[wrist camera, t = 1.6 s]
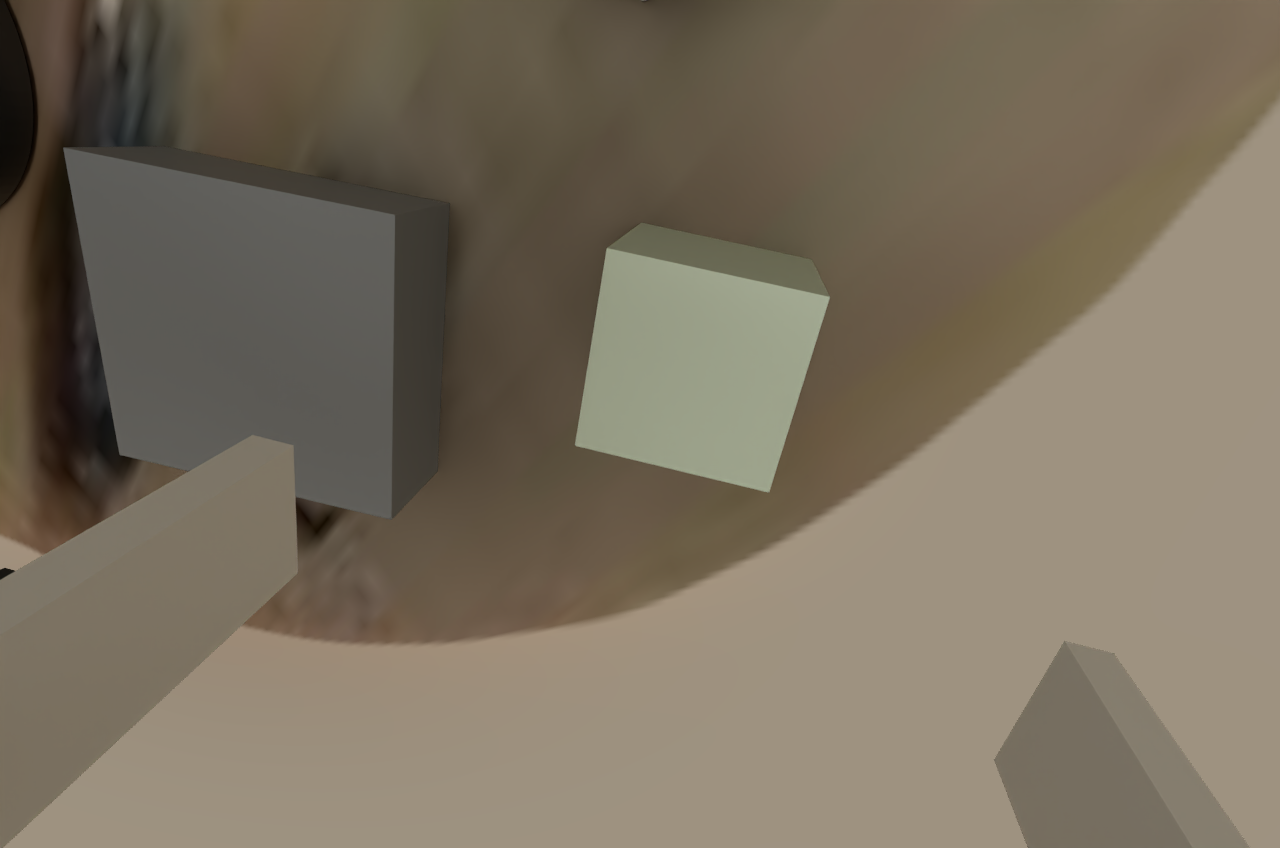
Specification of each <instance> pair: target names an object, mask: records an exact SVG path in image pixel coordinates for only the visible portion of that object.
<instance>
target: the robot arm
mask: <svg viewBox="0 0 1280 848" xmlns="http://www.w3.org/2000/svg"><path fill="white" fill-rule="evenodd" d="M32 135H33V101H32V91H31V84H30V78H29V73H28V68H27V64H26V60H25V56H24V52H23V49H22V45H21V42H20V39H19V36H18V33H17V30H16V28H15V25H14V22H13V20H12V17H11V15H10V13H9V10H8V8H7V6H6V3H5V1H4V0H0V206H1V205H2V204H3V203H4V202H5V201H6V200H7V199H8V198H9V196H10V195H11V194H12V193H13V191H14V190H15V188H16V187H17V185H18V183H19V181H20V179H21V177H22V175H23V173H24V170H25V168H26V165H27V161H28V158H29V154H30V149H31V143H32ZM297 573H298V556H297V529H296V502H295V474H294V447H293V445H290V444H286V443H282V442H278V441H274V440H271V439H267V438H263V437H259V436H255V435H251V436H250V437H248V438H246V439H244V440H243V441H241V442H239V443H238V444H236V445H234V446H232V447H231V448H229V449H227V450H225V451H224V452H222V453H220V454H218V455H217V456H215V457H213V458H211V459H210V460H208V461H206V462H204V463H203V464H201V465H199V466H198V467H196V468H194V469H192V470H191V471H189V472H187V473H185V474H184V475H182V476H180V477H178V478H177V479H175V480H173V481H171V482H170V483H168V484H166V485H164V486H163V487H161V488H159V489H158V490H156V491H154V492H152V493H151V494H149V495H147V496H145V497H144V498H142V499H140V500H138V501H137V502H135V503H133V504H131V505H130V506H128V507H126V508H124V509H123V510H121V511H119V512H118V513H116V514H114V515H112V516H111V517H109V518H107V519H105V520H104V521H102V522H100V523H98V524H97V525H95V526H93V527H91V528H90V529H88V530H86V531H84V532H83V533H81V534H79V535H78V536H76V537H74V538H72V539H71V540H69V541H67V542H65V543H64V544H62V545H60V546H58V547H57V548H55V549H53V550H51V551H50V552H48V553H46V554H44V555H43V556H41V557H39V558H38V559H36V560H34V561H32V562H31V563H29V564H27V565H25V566H24V567H22V568H20V569H18V570H17V571H14V570H10V569H7V568H4V569H1V570H0V848H3V847H4V846H5V845H6V844H7V843H9V841H11V840H12V839H13V838H14V837H15V836H16V835H17V834H18V833H19V832H20V831H21V830H23V829H24V828H25V827H26V826H27V825H28V824H29V823H30V822H31V821H32V820H33V819H34V818H35V817H37V816H38V815H39V814H40V813H41V812H42V811H43V810H44V809H45V808H46V807H47V806H48V805H49V804H50V803H52V802H53V801H54V800H55V799H56V798H57V797H58V796H59V795H60V794H61V793H62V792H63V791H64V790H66V789H67V787H69V786H70V785H71V784H72V783H73V782H74V781H75V780H76V779H77V778H78V777H79V776H81V774H82V773H84V772H85V771H86V770H87V769H88V768H89V767H90V766H91V765H92V764H93V763H94V762H96V760H98V759H99V758H100V757H101V756H102V755H103V754H104V753H105V752H106V751H107V750H108V749H109V748H111V747H112V746H113V745H114V744H115V743H116V742H117V741H118V740H119V739H120V738H121V737H122V736H123V735H124V734H126V733H127V732H128V731H129V730H130V729H131V728H132V727H133V726H134V725H135V724H136V723H137V722H138V721H139V720H141V719H142V718H143V717H144V716H145V715H146V714H147V713H148V712H149V711H150V710H151V709H152V708H153V707H155V706H156V705H157V704H158V703H159V702H160V701H161V700H162V699H163V698H164V697H165V696H166V695H167V694H168V693H170V691H172V689H174V688H175V687H176V686H177V685H178V684H179V683H180V682H181V681H182V680H184V678H186V677H187V676H188V675H189V674H190V673H191V672H192V671H193V670H194V669H195V668H196V667H197V666H199V665H200V664H201V663H202V662H203V661H204V660H205V659H206V658H207V657H208V656H209V655H210V654H211V653H212V652H214V651H215V650H216V649H217V648H218V647H219V646H220V645H221V644H222V643H223V642H224V641H225V640H226V639H228V638H229V637H230V636H231V635H232V634H233V633H234V632H235V631H236V630H237V629H238V628H239V627H240V626H241V625H243V624H244V623H245V622H246V621H247V620H248V619H249V618H250V617H251V616H252V615H253V614H254V613H255V612H257V611H258V610H259V609H260V608H261V607H262V606H263V605H264V604H265V603H266V602H267V601H268V600H269V599H270V598H272V597H273V596H274V595H275V594H276V593H277V592H278V591H279V590H280V589H281V588H282V587H283V586H284V585H285V584H287V583H288V582H289V581H290V580H291V579H292V578H293V577H294V576H295V575H296V574H297ZM994 761H995V763H996V766H997V768H998V771H999V774H1000V776H1001V779H1002V782H1003V784H1004V787H1005V789H1006V792H1007V795H1008V797H1009V799H1010V802H1011V805H1012V807H1013V810H1014V813H1015V815H1016V818H1017V821H1018V823H1019V826H1020V828H1021V831H1022V834H1023V836H1024V839H1025V841H1026V844H1027V847H1028V848H1250V847H1249V846H1248V844H1247V843H1246V841H1245V840H1244V838H1243V837H1242V836H1241V834H1240V833H1239V831H1238V830H1237V828H1236V827H1235V826H1234V824H1233V823H1232V821H1231V820H1230V818H1229V817H1228V816H1227V814H1226V813H1225V812H1224V810H1223V808H1222V807H1221V806H1220V804H1219V803H1218V801H1217V800H1216V798H1215V797H1214V796H1213V794H1212V793H1211V791H1210V790H1209V788H1208V787H1207V786H1206V784H1205V783H1204V781H1203V780H1202V778H1201V777H1200V776H1199V774H1198V773H1197V771H1196V770H1195V768H1194V767H1193V766H1192V764H1191V763H1190V761H1189V760H1188V758H1187V757H1186V756H1185V754H1184V753H1183V751H1182V750H1181V748H1180V747H1179V746H1178V744H1177V743H1176V741H1175V740H1174V738H1173V737H1172V736H1171V734H1170V733H1169V731H1168V730H1167V729H1166V727H1165V726H1164V724H1163V723H1162V721H1161V720H1160V719H1159V717H1158V716H1157V714H1156V713H1155V711H1154V710H1153V708H1152V707H1151V706H1150V704H1149V703H1148V701H1147V700H1146V698H1145V697H1144V696H1143V694H1142V693H1141V691H1140V690H1139V688H1138V687H1137V686H1136V684H1135V683H1134V681H1133V680H1132V678H1131V677H1130V676H1129V674H1128V673H1127V671H1126V670H1125V669H1124V667H1123V666H1122V664H1121V663H1120V661H1119V660H1118V658H1117V657H1116V656H1115V654H1114V653H1110V652H1106V651H1102V650H1098V649H1094V648H1090V647H1086V646H1083V645H1078V644H1075V643H1071V642H1067V641H1064V643H1063V645H1062V646H1061V648H1060V650H1059V651H1058V653H1057V655H1056V656H1055V658H1054V660H1053V661H1052V663H1051V665H1050V666H1049V668H1048V670H1047V672H1046V673H1045V675H1044V677H1043V678H1042V680H1041V682H1040V683H1039V685H1038V687H1037V688H1036V690H1035V692H1034V693H1033V695H1032V697H1031V699H1030V700H1029V702H1028V704H1027V705H1026V707H1025V709H1024V710H1023V712H1022V714H1021V715H1020V717H1019V719H1018V720H1017V722H1016V724H1015V726H1014V727H1013V729H1012V731H1011V732H1010V734H1009V736H1008V737H1007V739H1006V741H1005V742H1004V744H1003V746H1002V748H1001V749H1000V751H999V753H998V754H997V756H996V758H995V759H994Z"/></svg>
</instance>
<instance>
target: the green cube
mask: <svg viewBox="0 0 1280 848" xmlns="http://www.w3.org/2000/svg"><path fill="white" fill-rule="evenodd" d="M829 298H830V296H829V294H828V292H827V290H826V288H825V286H824V284H823V282H822V280H821V278H820V276H819V273H818V271H817V269H816V267H815V265H814V263H813V261H812V259H807V258H803V257H798V256H794V255H789V254H784V253H780V252H775V251H770V250H766V249H761V248H757V247H752V246H747V245H743V244H738V243H733V242H729V241H724V240H720V239H715V238H710V237H706V236H701V235H696V234H692V233H687V232H683V231H678V230H673V229H669V228H664V227H659V226H655V225H650V224H646V223H640V224H639V225H637V226H636V227H635V228H633V229H632V230H631V231H629V232H628V233H627V234H625V235H624V236H622V237H621V238H620V239H618V240H617V241H616V242H614V243H613V244H612V245H610V246H609V247H608V248H607V250H606V256H605V262H604V269H603V275H602V281H601V287H600V293H599V300H598V306H597V312H596V318H595V324H594V331H593V337H592V343H591V349H590V355H589V361H588V368H587V374H586V380H585V386H584V392H583V399H582V405H581V411H580V417H579V423H578V430H577V436H576V442H575V446H578V447H582V448H587V449H591V450H595V451H599V452H603V453H607V454H611V455H616V456H620V457H624V458H628V459H632V460H636V461H640V462H645V463H649V464H653V465H657V466H661V467H665V468H669V469H674V470H678V471H682V472H686V473H690V474H694V475H698V476H702V477H707V478H711V479H715V480H719V481H723V482H727V483H731V484H736V485H740V486H744V487H748V488H752V489H756V490H760V491H765V492H769V491H770V488H771V485H772V481H773V478H774V475H775V472H776V469H777V465H778V462H779V459H780V456H781V452H782V449H783V446H784V443H785V440H786V436H787V433H788V430H789V427H790V424H791V420H792V417H793V414H794V411H795V408H796V404H797V401H798V398H799V395H800V391H801V388H802V385H803V382H804V379H805V375H806V372H807V369H808V366H809V363H810V359H811V356H812V353H813V350H814V347H815V343H816V340H817V337H818V334H819V330H820V327H821V324H822V321H823V318H824V314H825V311H826V308H827V305H828V302H829Z"/></svg>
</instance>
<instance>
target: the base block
mask: <svg viewBox="0 0 1280 848" xmlns="http://www.w3.org/2000/svg"><path fill="white" fill-rule="evenodd" d="M63 149H64V154H65V160H66V165H67V171H68V176H69V182H70V187H71V193H72V198H73V203H74V209H75V214H76V220H77V225H78V231H79V236H80V241H81V247H82V252H83V258H84V263H85V269H86V274H87V280H88V285H89V290H90V296H91V301H92V307H93V312H94V318H95V323H96V329H97V334H98V339H99V345H100V350H101V356H102V361H103V367H104V372H105V378H106V383H107V388H108V394H109V399H110V405H111V410H112V416H113V421H114V427H115V432H116V437H117V443H118V448H119V454H120V455H123V456H127V457H131V458H136V459H140V460H144V461H148V462H152V463H156V464H161V465H165V466H169V467H173V468H177V469H181V470H186V471H191V470H192V469H194V468H196V467H198V466H199V465H201V464H203V463H204V462H206V461H208V460H210V459H211V458H213V457H215V456H217V455H218V454H220V453H222V452H224V451H225V450H227V449H229V448H231V447H232V446H234V445H236V444H238V443H239V442H241V441H243V440H244V439H246V438H248V437H250V436H251V435H255V436H259V437H263V438H267V439H271V440H274V441H278V442H282V443H286V444H290V445H293V447H294V474H295V497H298V498H302V499H307V500H311V501H315V502H319V503H323V504H328V505H332V506H336V507H340V508H344V509H348V510H353V511H357V512H361V513H365V514H369V515H373V516H378V517H382V518H386V519H390V520H392V519H393V518H394V517H395V516H396V514H397V513H398V512H399V511H400V510H401V509H402V508H403V507H404V506H405V505H406V504H407V503H408V502H409V501H410V500H411V499H412V498H413V497H414V496H415V495H416V493H417V492H418V491H419V490H420V489H421V488H422V487H423V486H424V485H425V484H426V483H427V482H428V481H429V480H430V479H431V478H432V477H433V476H434V475H435V474H436V472H437V471H438V450H439V428H440V406H441V385H442V363H443V341H444V319H445V297H446V275H447V253H448V232H449V210H450V203H445V202H440V201H435V200H430V199H425V198H420V197H415V196H410V195H405V194H400V193H395V192H390V191H385V190H380V189H375V188H370V187H365V186H360V185H355V184H350V183H345V182H340V181H335V180H330V179H325V178H320V177H315V176H310V175H305V174H300V173H295V172H290V171H285V170H280V169H275V168H270V167H265V166H260V165H255V164H251V163H246V162H241V161H236V160H231V159H226V158H221V157H216V156H211V155H206V154H201V153H196V152H191V151H186V150H181V149H176V148H171V147H166V146H153V147H66V148H63Z"/></svg>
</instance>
